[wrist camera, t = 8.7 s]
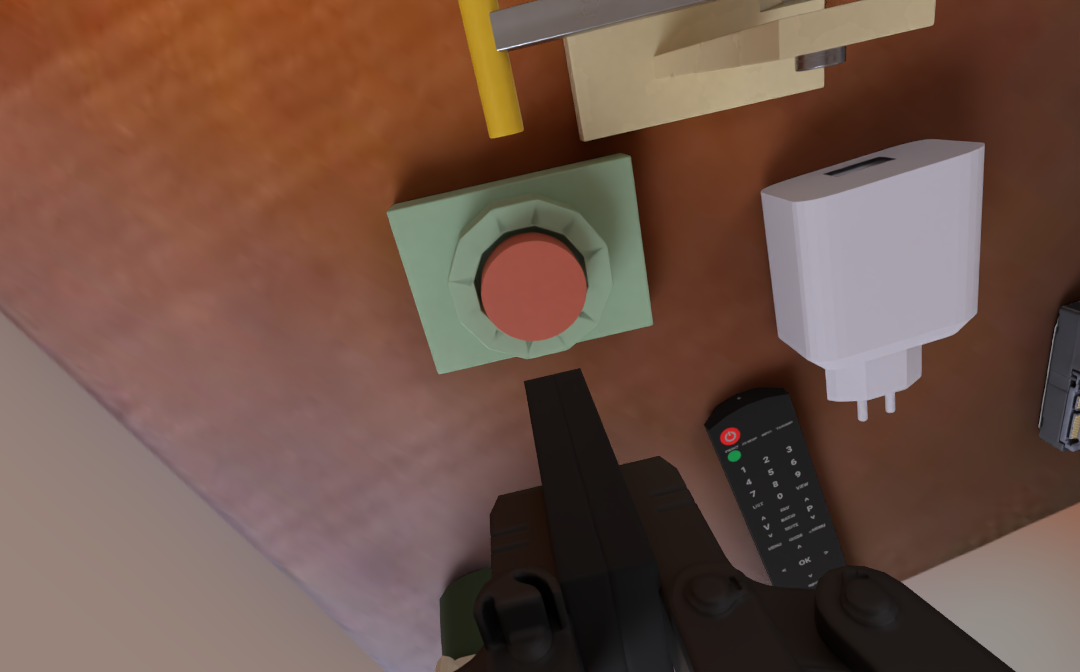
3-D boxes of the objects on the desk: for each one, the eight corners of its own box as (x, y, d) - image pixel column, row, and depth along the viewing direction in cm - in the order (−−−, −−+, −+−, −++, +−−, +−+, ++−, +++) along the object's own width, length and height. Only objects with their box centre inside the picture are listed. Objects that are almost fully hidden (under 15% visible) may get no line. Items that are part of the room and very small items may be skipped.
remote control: (794, 639, 44) (803, 654, 42) (697, 412, 34) (705, 423, 33) (856, 613, 43) (867, 628, 42) (775, 376, 34) (786, 386, 33)
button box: (621, 152, 28) (642, 159, 24) (643, 312, 31) (665, 339, 28) (392, 204, 28) (378, 219, 24) (440, 359, 31) (435, 393, 28)
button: (570, 221, 25) (576, 229, 24) (588, 315, 27) (594, 328, 26) (470, 244, 25) (469, 253, 24) (494, 337, 27) (495, 351, 26)
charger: (782, 416, 35) (753, 189, 29) (920, 374, 35) (920, 136, 29) (824, 460, 31) (801, 203, 25) (983, 413, 31) (997, 142, 25)
